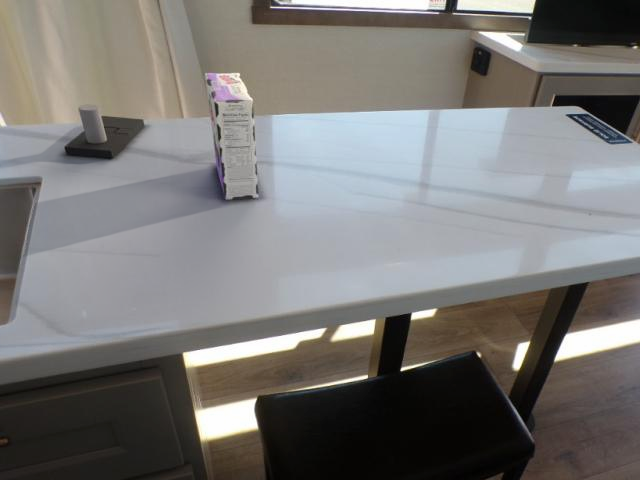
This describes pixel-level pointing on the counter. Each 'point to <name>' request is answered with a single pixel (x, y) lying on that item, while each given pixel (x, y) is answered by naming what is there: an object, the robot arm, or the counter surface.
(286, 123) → the counter surface
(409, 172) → the counter surface
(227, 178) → the candy box
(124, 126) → the notch pad
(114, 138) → the pad
